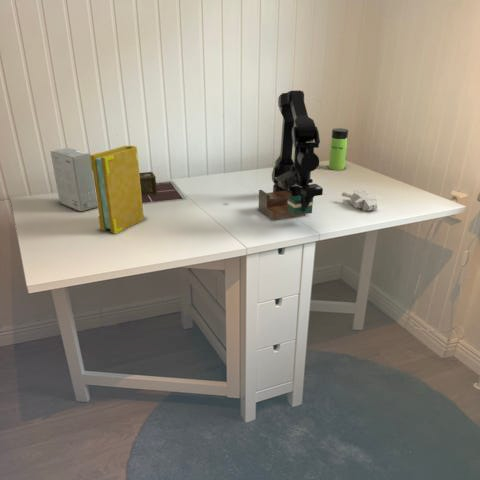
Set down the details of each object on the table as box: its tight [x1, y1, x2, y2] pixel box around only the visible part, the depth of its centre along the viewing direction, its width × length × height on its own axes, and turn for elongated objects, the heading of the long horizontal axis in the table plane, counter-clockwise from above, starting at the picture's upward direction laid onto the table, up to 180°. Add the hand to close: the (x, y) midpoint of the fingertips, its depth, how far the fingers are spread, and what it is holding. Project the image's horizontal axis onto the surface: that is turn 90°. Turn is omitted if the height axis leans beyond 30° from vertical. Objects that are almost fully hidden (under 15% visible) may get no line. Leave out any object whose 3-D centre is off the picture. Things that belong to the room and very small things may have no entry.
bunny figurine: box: [341, 189, 378, 212], centre depth 197 cm, size 10×5×15 cm
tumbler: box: [328, 127, 349, 171], centre depth 240 cm, size 8×8×17 cm
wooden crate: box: [139, 171, 158, 197], centre depth 210 cm, size 7×7×7 cm
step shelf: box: [258, 189, 306, 221], centre depth 190 cm, size 13×12×8 cm
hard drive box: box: [50, 147, 98, 212], centre depth 193 cm, size 16×8×20 cm, turn 47°
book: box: [90, 145, 145, 235], centre depth 175 cm, size 17×7×25 cm, turn 148°
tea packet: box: [287, 196, 314, 216], centre depth 177 cm, size 7×5×5 cm
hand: (299, 209), depth 178 cm, fingers closed on tea packet, 5 cm apart
